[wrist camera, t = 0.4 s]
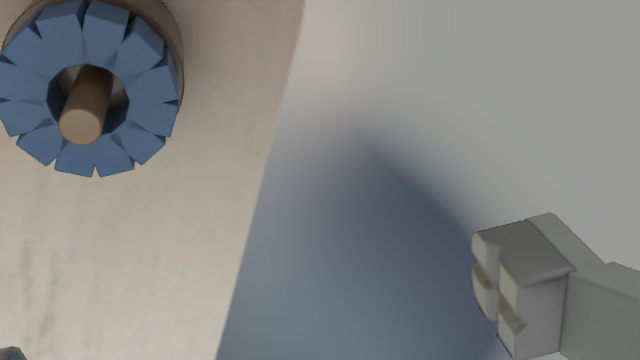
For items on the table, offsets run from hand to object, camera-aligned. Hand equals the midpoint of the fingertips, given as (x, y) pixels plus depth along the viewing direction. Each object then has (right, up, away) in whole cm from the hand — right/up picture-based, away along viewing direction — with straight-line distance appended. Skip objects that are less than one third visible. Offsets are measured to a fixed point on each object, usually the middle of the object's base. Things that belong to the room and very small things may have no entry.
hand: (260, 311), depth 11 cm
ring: (-8, +6, +13) cm, 17 cm away
